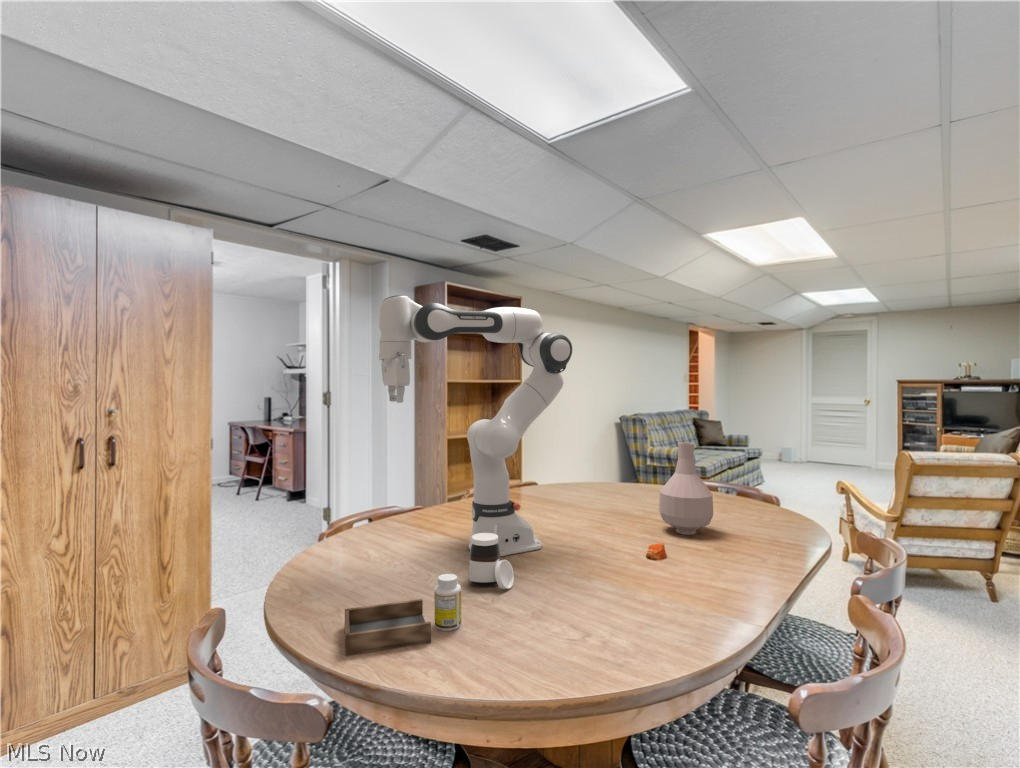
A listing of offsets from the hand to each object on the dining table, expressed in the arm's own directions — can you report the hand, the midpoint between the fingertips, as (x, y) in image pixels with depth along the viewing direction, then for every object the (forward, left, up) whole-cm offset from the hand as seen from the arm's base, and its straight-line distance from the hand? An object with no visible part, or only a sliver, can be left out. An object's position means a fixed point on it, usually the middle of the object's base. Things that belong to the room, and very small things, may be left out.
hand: (396, 402), depth 147 cm
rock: (-72, +19, -46) cm, 88 cm away
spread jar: (-21, +24, -46) cm, 56 cm away
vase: (-96, +1, -46) cm, 106 cm away
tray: (+6, +43, -45) cm, 62 cm away
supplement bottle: (-6, +43, -46) cm, 63 cm away
